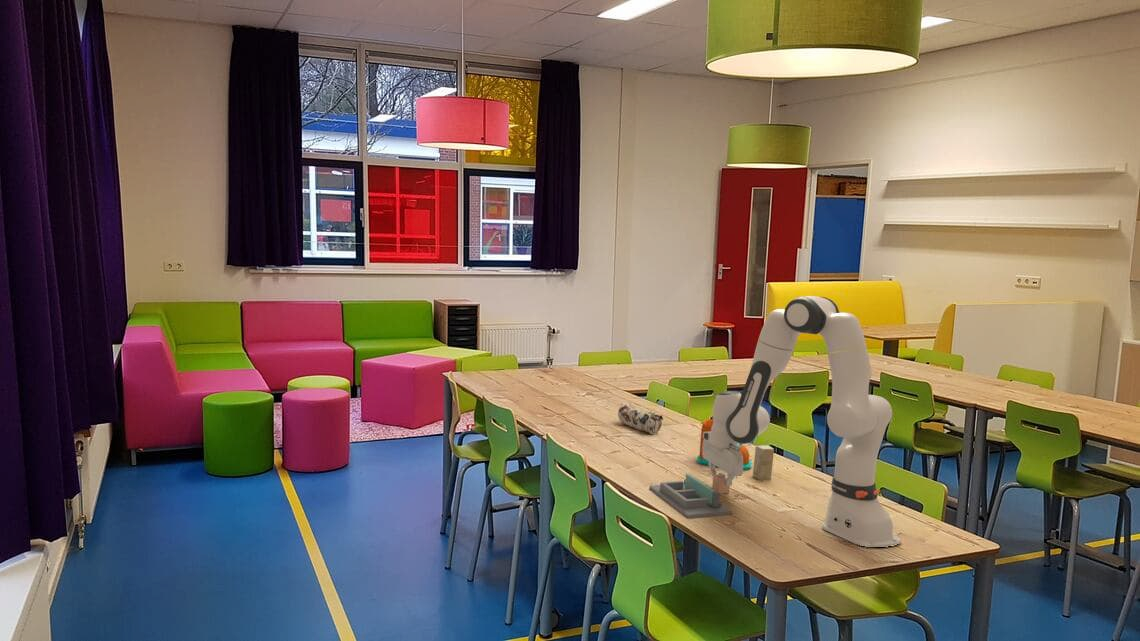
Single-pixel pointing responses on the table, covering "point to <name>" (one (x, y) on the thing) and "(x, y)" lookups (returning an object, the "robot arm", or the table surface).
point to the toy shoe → (746, 463)
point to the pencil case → (640, 418)
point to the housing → (689, 500)
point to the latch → (699, 488)
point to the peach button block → (720, 483)
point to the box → (763, 462)
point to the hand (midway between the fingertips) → (720, 480)
